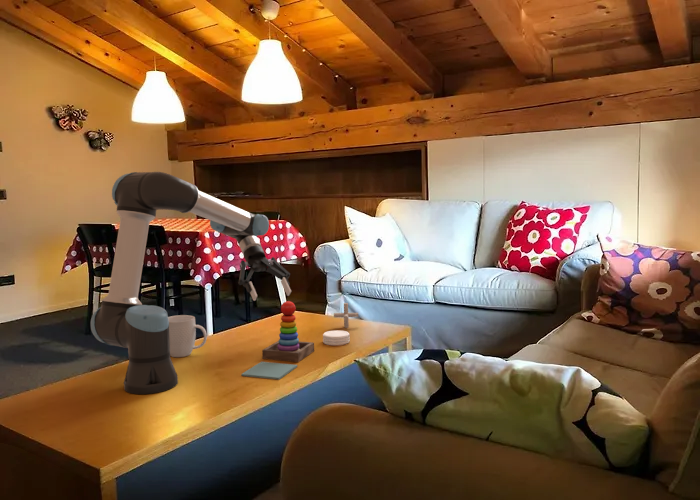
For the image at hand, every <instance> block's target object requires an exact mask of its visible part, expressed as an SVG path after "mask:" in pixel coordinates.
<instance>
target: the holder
mask: <svg viewBox="0 0 700 500" xmlns="http://www.w3.org/2000/svg"><path fill="white" fill-rule="evenodd" d="M278 344H279V340H277V341H276V342H274V343H272V344H271V345H269V346H267V347H265V348H263V349H262V351H261V354H262V359H263V360H272V361H273V360H274V361H283V362H284V361H285V362H286V361H287V362H294V363H297V362H298V363H299V362H301V361H302V360H303V359H305V358H306V357H307V356H309V355H310V354H312V353H313V352H314V351H315V342H313V341H312V342H311V341H310V342H309V341H300V340H299V342H298V344H299V349H300V350H299V351H297V352H292V351H280V350H279V349H278Z"/></svg>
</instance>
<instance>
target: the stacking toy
mask: <svg viewBox="0 0 700 500" xmlns="http://www.w3.org/2000/svg"><path fill="white" fill-rule="evenodd" d="M296 309H297V308H296V305H295V303H294V302H293V301H290V300H287V301H284V302H283V303H282V304H281V306H280V311H281V313H282V316H281V317H280V320H281V321H280V323H279V326H280V328H279V332H280V333H279V334H278V337H279V339H278V341H279V344H278V349H279V350H280V351H292V352H297V351H299V350H300V349H299V344H298V342H299V341H300V340H299V334H298V328H297V327H298V326H297V322H296V321H295V320H296V319H297V317H296V315H295V312H296Z"/></svg>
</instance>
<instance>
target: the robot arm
mask: <svg viewBox="0 0 700 500" xmlns="http://www.w3.org/2000/svg"><path fill="white" fill-rule="evenodd" d="M111 197H112V200H113V203H114V204H115V206H116V211H115V212H116V214H117V215H118V216H119V218H120V221H119V227H118V231H117V238H116V245H115V251H114V252H115V253H114V258H113V264H112V270H111V275H110V282H109V283H110V284H109V288H108V293H107V296H105V297H103V298H102V299H101V304H100V305H101V306H100V307H98V308H97V309H96V311H94V312H93V313H92V315H91V319H90V331H91V333H92V335H93V336H94V338H95V339H96V340H97V341H99V342H100V343H103V344H105V345H108V346H115V347H120V348H124V349H125V348H126V349H128V350H127V353H128V365H127V369H126V373H125V377H124V380H123V388H124V389H123V390H124V391H125V392H127V393H129V394H134V395H147V394H148V395H149V394H157V393H161V392H164V391H168V390H170V389H173V388H174V387H176V386H177V385H178V384H179V380H178V379H179V377H178V373H177V372H176V368H175V366H174V363H173V361H172V359H171V355H170V338H169V320H168V317H169V315H168V312H167V310H166V309H165V308H164V307H161V306H158V305H148V304H143V303H142V302H141V301H140V300H139V292H140V286H141V280H142V273H143V265H144V259H145V254H146V248H147V247H146V246H147V242H148V234H149V228H150V223H151V222H152V221H154V220H155V219H156V214H157V211H160V210H161V211H165V210H168V211H176V212H179V213H182V214H188V213H190V214H193V215H197V216H199V217H200V218H201V217H202V218H205V219H206V220H209V225H210V228H211V229H212V230H213V231H215V232H217V233H220V234H222V235H225V236H228V237H230V238H233V239H234V240H236V242H237V244H238V246H239V248H240V251H241V252H242V254H243V260H240V263H239V269H240V271H239V277H238V278H239V279H238V282H237V283H238V285H239V286H243V287H244V288H245V289H246V291H247V293H249V294H250V296H251V298H252V300H253V302H255V301H256V300H257V298H258V294H257V291H256V288H255V286H254V285H253V282H252V281H250V279H252V276H253V274H254V272H256V273H259V272H266V273H269V274H271V275H272V276H274V277H275V278H277V279H279V280H281V281H280V284H281V285H282V287H283V290H284V292H285V294H286V296H287V297H290V295H291V293H292V289H291V287H290V285H291V284H290V281H289V278H290V276H291V273H290V272H289V271H288V270H287V269H286V268H285V267H284V266H282V265H281V264H280V263H279V262H278V261H277V260H276V258H275V257H274V256H273V257H271V258H270V259H268V258H267V257H266V253H265V251H264V249H263V247H262V245H261V244H262V243H261V242H260V240H259V238H258V236H264V235H266V234H267V233H268V231H269V228H270V227H269V226H270V222H269V218H268V217H267V216H266V215H264V214H259V213H257V214H255V213H251V212H249V211H246V210H245V209H242V208H240V207H238V206H235V205H233V204H231V203H229V202H226V201H224V200H221V199H219V198H217V197H215V196H213V195H210V194H208V193H206V192H204V191H201V190H199V189H198V186H196V184H194V183H191V182H189V181H187V180H184V179H183V178H179V177H177V176H175V175H172V174H170V173H167V172H162V171H147V172H146V171H145V172H143V171H142V172H141V171H139V172H137V171H136V172H135V171H134V172H130V173H124V174H122V175H121V176H119V177H118V178H117V179H116V180H115V182H114V183H113V186H112V188H111ZM247 267H248V268H250V271H249V272H248V274H247V277H246V279H245V273H246V272H245V271H246V268H247Z"/></svg>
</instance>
